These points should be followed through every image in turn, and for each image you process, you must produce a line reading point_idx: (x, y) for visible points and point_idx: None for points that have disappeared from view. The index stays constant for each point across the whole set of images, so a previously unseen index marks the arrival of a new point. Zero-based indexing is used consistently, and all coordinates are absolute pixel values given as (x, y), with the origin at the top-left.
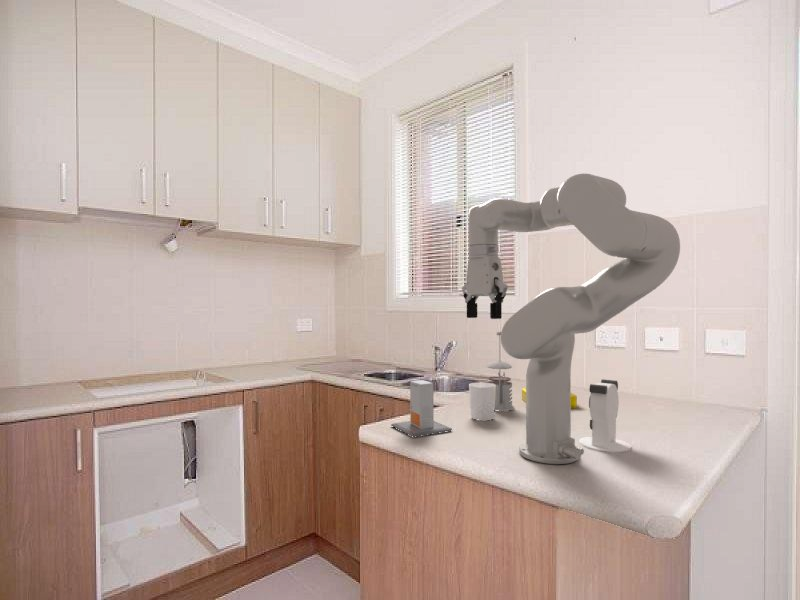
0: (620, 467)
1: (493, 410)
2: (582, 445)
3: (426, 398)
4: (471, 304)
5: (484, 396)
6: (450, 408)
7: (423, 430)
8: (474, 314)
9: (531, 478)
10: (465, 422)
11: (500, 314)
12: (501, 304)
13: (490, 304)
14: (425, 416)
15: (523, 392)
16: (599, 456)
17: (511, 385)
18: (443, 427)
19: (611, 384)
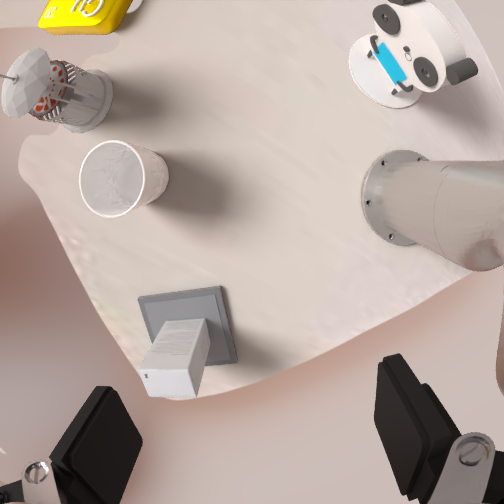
0: (466, 140)
1: (157, 157)
2: (383, 105)
3: (198, 364)
4: (104, 493)
5: (151, 188)
6: (59, 208)
7: (219, 340)
8: (118, 421)
9: (450, 278)
10: (164, 228)
11: (425, 385)
12: (445, 423)
13: (408, 492)
14: (206, 346)
15: (51, 29)
16: (430, 126)
17: (73, 66)
18: (210, 301)
19: (452, 28)
